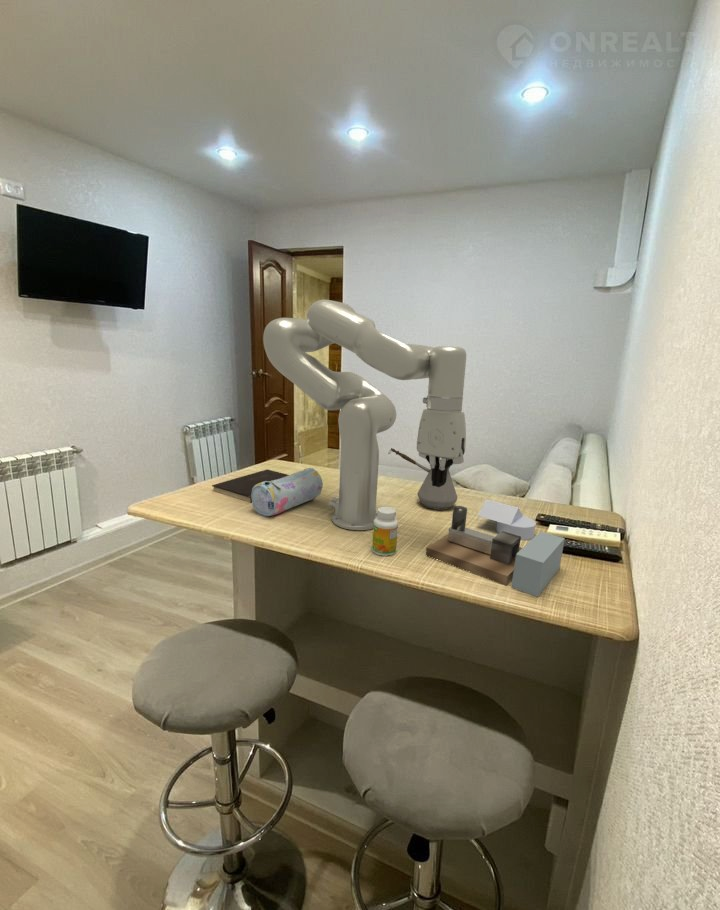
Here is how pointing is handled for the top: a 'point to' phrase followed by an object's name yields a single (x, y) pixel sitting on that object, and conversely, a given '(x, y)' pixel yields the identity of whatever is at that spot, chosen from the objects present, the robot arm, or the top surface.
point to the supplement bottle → (385, 532)
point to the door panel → (480, 556)
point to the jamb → (537, 563)
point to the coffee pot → (433, 488)
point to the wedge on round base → (508, 519)
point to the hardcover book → (246, 484)
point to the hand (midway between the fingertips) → (438, 485)
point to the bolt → (468, 533)
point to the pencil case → (286, 492)
